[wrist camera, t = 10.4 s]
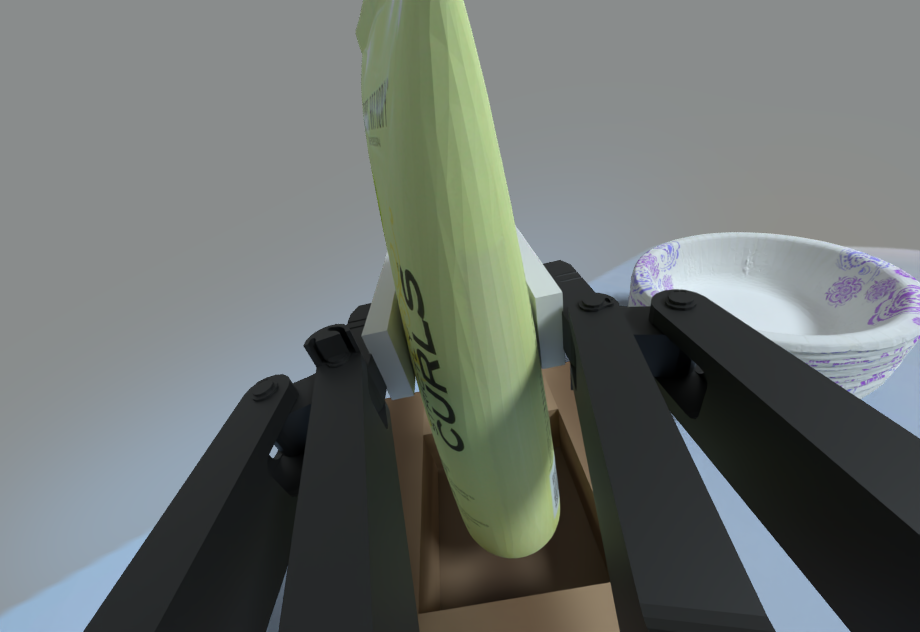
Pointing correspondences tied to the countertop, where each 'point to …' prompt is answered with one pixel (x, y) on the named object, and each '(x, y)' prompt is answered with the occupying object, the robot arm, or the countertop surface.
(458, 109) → the tube
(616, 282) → the countertop surface
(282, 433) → the robot arm
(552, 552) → the socket block
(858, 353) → the paper bowls
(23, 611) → the countertop surface
